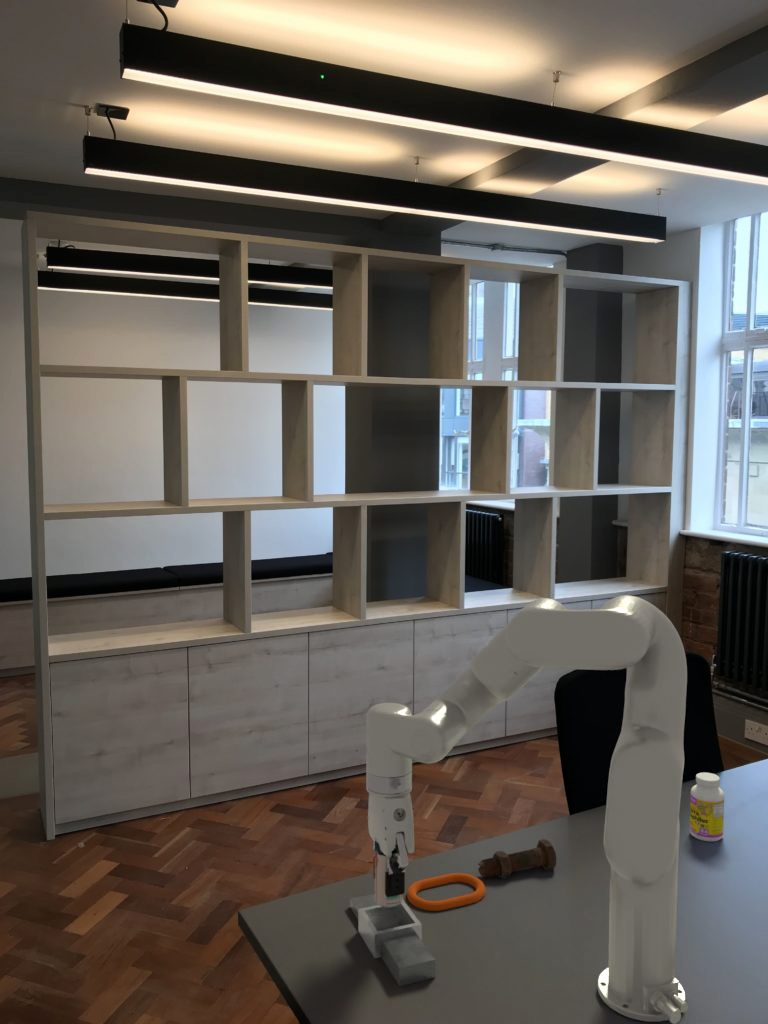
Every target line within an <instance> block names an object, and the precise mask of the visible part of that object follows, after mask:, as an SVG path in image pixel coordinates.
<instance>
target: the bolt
mask: <svg viewBox="0 0 768 1024" xmlns="http://www.w3.org/2000/svg"><path fill="white" fill-rule="evenodd" d="M477 865H478V866H479V867H478V869H477V870H478V873H479V875H480V876H482V877H483V878H490V877H494V876H498V875H499V876H500V877H501V878H500V877H499V876H498V877H499V878H500V879H502V878H503V879H505V878H504V877H508V878H509V877H510V876H511V875H512V872H518V871H521V870H525V869H530V868H534V867H543V866H544V867H545V868H546V869H547V870H548V871H552V870H551V869H553V870H554V869H555V868H556V865H557V853H556V850H555V848H554V846H553V845H552V842H550V841H549V840H548V839H546V838H542V839H539V840H538V843H537V844H536V847H533V848H531V849H527V850H522V851H517V852H513V853H506V851H503V850H497V851H495V852H494V854H493V856H492V857H491V858H485V859H481V861H479V862H478V864H477ZM544 867H543V868H544ZM545 868H544V869H545ZM546 869H545V870H546ZM547 870H546V871H547Z"/></svg>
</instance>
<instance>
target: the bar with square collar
mask: <svg viewBox="0 0 768 1024" xmlns="http://www.w3.org/2000/svg"><path fill="white" fill-rule="evenodd" d="M374 898H375V893H372V894H368V895H367V894H366V895H362V896H357V897H351V898H349V907H350V910H351V911H352V912H353V914H354V916H355V917H356V919H357V922H358V927H357V928H358V933H359V935H360V936H361V938H362V939H363V941H364V944H366V946H367V948H368V950H369V952H370V953H371V956H372V957H373V958H374V959H378V958H381V960H383V963H384V964H385V966H386V967H387V968H388V971H389V973H390V974H391V975H392V977H393V978H394V980H395V982H396V983H397V984H398V986H399V987H402V986H406V985H411V984H414V983H418V982H422V981H427V980H432V979H436V958H435V957H434V956H433V955H432V952H431V951H430V950H429V949H428V947H427V945H425V943H424V942H423V933H422V932H423V927H422V926H423V924H422V923H421V921H420V920H419V919H418V918H417V916H416V915H415V913H414V912H413V911H412V909H411V908H410V907H409V906H408V904H407V903H406V902H405V900H404V899H403V901H402V903H401V904H399V905H397V906H395V907H392V908H385V907H382V906H380V905H378V904H377V903H376V902H375V900H374Z"/></svg>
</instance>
